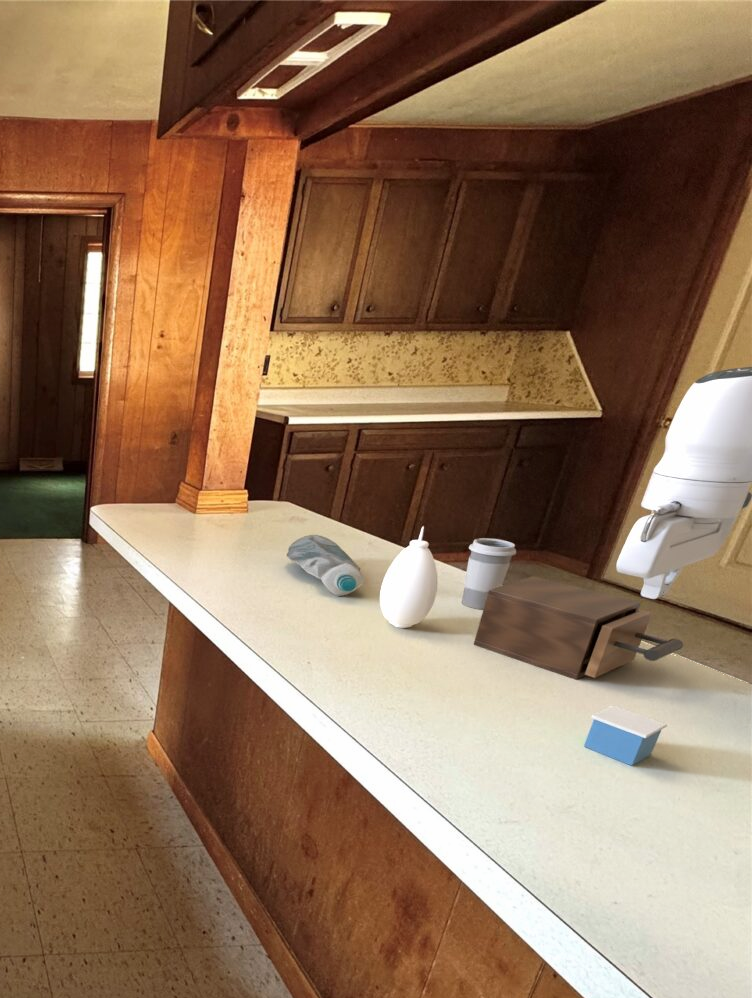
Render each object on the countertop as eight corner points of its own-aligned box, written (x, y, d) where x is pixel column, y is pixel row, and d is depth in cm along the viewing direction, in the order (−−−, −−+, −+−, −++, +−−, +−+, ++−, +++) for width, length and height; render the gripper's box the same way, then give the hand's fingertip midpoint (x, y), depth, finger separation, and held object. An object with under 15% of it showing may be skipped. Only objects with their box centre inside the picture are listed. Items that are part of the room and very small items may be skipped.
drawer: (677, 673, 95) (698, 624, 92) (638, 692, 90) (659, 641, 87) (535, 630, 109) (549, 586, 107) (496, 645, 105) (509, 599, 102)
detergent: (278, 560, 149) (303, 598, 126) (285, 529, 146) (312, 562, 124) (341, 567, 146) (379, 608, 123) (350, 536, 143) (390, 572, 121)
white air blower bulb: (427, 638, 110) (453, 534, 103) (372, 629, 114) (394, 529, 107) (426, 622, 116) (451, 523, 109) (374, 614, 120) (395, 518, 113)
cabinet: (619, 660, 101) (641, 602, 97) (575, 679, 96) (597, 619, 92) (516, 628, 112) (533, 575, 109) (473, 644, 107) (488, 589, 104)
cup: (467, 595, 127) (483, 535, 122) (507, 606, 121) (526, 544, 117) (446, 603, 124) (462, 541, 119) (486, 614, 118) (505, 550, 114)
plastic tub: (654, 755, 79) (667, 724, 77) (633, 767, 77) (646, 735, 75) (601, 735, 83) (612, 704, 81) (580, 746, 81) (591, 715, 79)
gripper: (688, 513, 79) (646, 618, 85) (759, 493, 87) (717, 590, 93) (621, 502, 85) (585, 602, 90) (693, 484, 93) (657, 577, 98)
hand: (652, 596), depth 91 cm, fingers closed
